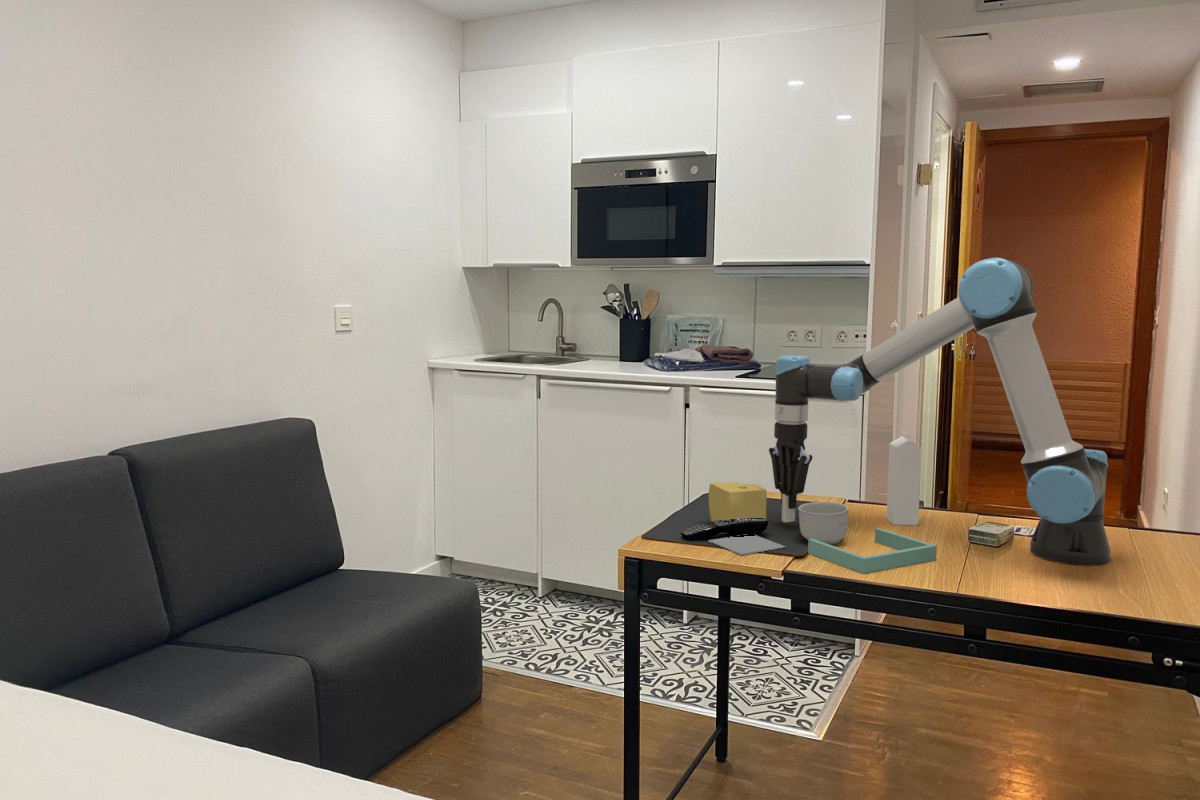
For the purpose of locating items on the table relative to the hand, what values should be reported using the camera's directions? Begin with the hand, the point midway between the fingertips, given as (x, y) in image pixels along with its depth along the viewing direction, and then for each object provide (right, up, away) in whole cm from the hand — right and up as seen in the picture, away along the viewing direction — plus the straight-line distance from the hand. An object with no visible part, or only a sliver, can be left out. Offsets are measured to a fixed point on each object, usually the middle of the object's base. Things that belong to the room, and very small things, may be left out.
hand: (788, 521), depth 216 cm
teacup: (+6, -3, -10) cm, 12 cm away
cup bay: (+12, -4, -23) cm, 26 cm away
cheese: (-12, -2, +1) cm, 12 cm away
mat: (-12, -3, -15) cm, 20 cm away
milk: (+29, -1, +6) cm, 29 cm away
